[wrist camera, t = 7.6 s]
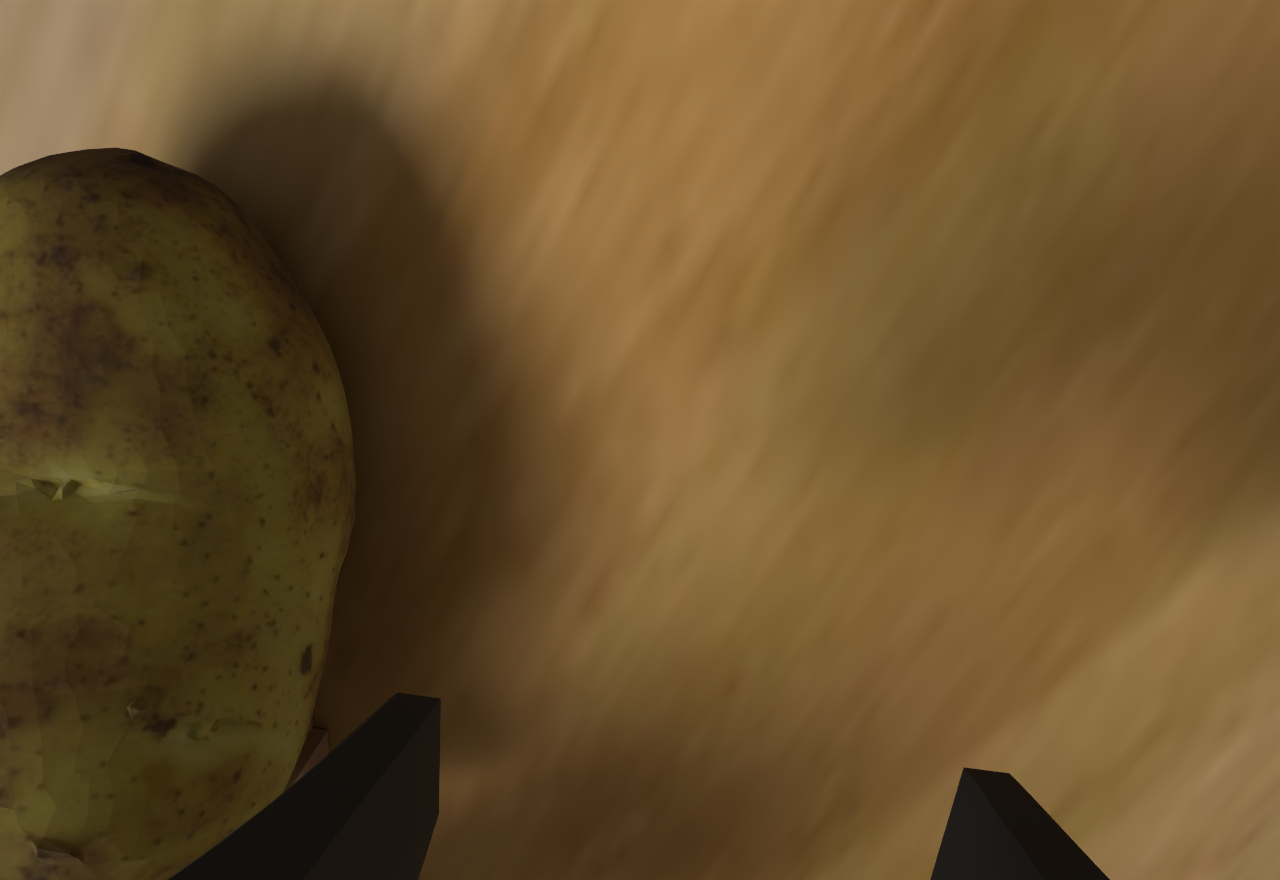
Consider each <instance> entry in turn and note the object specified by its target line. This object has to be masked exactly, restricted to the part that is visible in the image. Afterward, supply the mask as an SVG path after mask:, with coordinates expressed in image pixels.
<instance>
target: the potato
mask: <svg viewBox="0 0 1280 880" xmlns="http://www.w3.org/2000/svg"><path fill="white" fill-rule="evenodd" d="M355 510H356V476H355V461H354V450H353V439H352V428H351V421H350V416H349V410H348V405H347V400H346V396H345V391H344V388H343V384H342V380H341V376H340V373H339V370H338V367H337V364H336V361H335V359H334V356H333V353H332V351H331V348H330V346H329V343H328V341H327V339H326V337H325V335H324V333H323V331H322V329H321V327H320V325H319V323H318V321H317V319H316V317H315V315H314V313H313V312H312V310H311V308H310V306H309V304H308V302H307V301H306V299H305V297H304V295H303V293H302V292H301V291H300V289H299V288H298V286H297V285H296V283H295V282H294V281H293V279H292V278H291V276H290V275H289V273H288V272H287V271H286V269H285V268H284V266H283V265H282V263H281V262H280V260H279V258H278V257H277V255H276V254H275V252H274V251H273V249H272V248H271V246H270V245H269V243H268V242H267V240H266V239H265V237H264V236H263V235H262V234H261V232H260V231H259V230H258V229H257V227H256V226H255V225H254V224H253V223H252V221H251V220H250V219H249V218H248V216H247V215H246V214H245V213H244V211H243V210H242V209H241V208H240V207H239V206H238V205H237V204H236V203H235V202H234V201H232V200H231V199H230V198H229V197H228V196H227V195H226V194H224V193H223V192H222V191H221V190H220V189H219V188H217V187H216V186H215V185H214V184H212V183H210V182H208V181H206V180H205V179H203V178H201V177H199V176H197V175H195V174H192V173H190V172H187V171H185V170H182V169H180V168H177V167H174V166H172V165H169V164H167V163H164V162H161V161H159V160H156V159H154V158H152V157H149V156H147V155H144V154H142V153H140V152H137V151H134V150H128V149H121V148H103V149H87V150H80V151H73V152H67V153H61V154H55V155H50V156H47V157H44V158H41V159H38V160H35V161H32V162H30V163H27V164H24V165H21V166H18V167H16V168H14V169H11V170H10V171H8V172H6V173H4V174H2V175H1V176H0V880H168V879H169V878H171V877H172V876H174V875H175V874H177V873H178V872H179V871H181V870H182V869H184V868H185V867H187V866H188V865H189V864H191V863H192V862H194V861H195V860H196V859H198V858H199V857H201V856H202V855H203V854H205V853H206V852H207V851H209V850H210V849H212V848H213V847H214V846H216V845H217V844H218V843H220V842H221V841H222V840H223V839H225V838H226V837H227V836H229V835H230V834H231V833H233V832H234V831H235V830H236V829H238V828H239V827H240V826H242V825H243V824H244V823H245V822H247V821H248V820H249V819H251V818H252V817H253V816H254V815H256V814H257V813H258V812H260V811H261V810H262V809H264V808H265V807H266V806H267V805H269V804H270V803H271V802H272V801H274V800H275V799H276V798H277V797H278V796H280V795H281V794H282V793H283V791H284V789H285V787H286V785H287V783H288V781H289V779H290V776H291V774H292V772H293V770H294V767H295V765H296V762H297V760H298V757H299V755H300V752H301V750H302V747H303V745H304V742H305V740H306V736H307V733H308V732H310V731H311V730H312V724H313V716H314V710H315V706H316V702H317V695H318V692H319V688H320V684H321V680H322V676H323V672H324V667H325V663H326V658H327V653H328V648H329V641H330V634H331V626H332V617H333V607H334V599H335V592H336V586H337V581H338V576H339V572H340V569H341V566H342V564H343V561H344V559H345V556H346V554H347V550H348V546H349V542H350V538H351V534H352V529H353V525H354V520H355Z"/></svg>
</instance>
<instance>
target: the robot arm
mask: <svg viewBox="0 0 1280 880" xmlns="http://www.w3.org/2000/svg"><path fill="white" fill-rule="evenodd" d="M440 705H441V699H440V698H432V697H425V696H417V695H409V694H402V693H397V694H396V695H394V696H393V697H391V698H390V699H389V700H388V701H387V702H386V703H384V704H383V705H382V706H381V707H380V708H379V709H378V710H377V711H376V712H375V713H373V714H372V715H371V716H370V717H369V718H368V719H367V720H366V721H365V722H364V723H362V724H361V725H360V726H359V727H358V728H357V729H356V730H355V731H354V732H353V733H351V734H350V735H349V736H348V737H347V738H346V739H345V740H344V741H343V742H341V743H340V744H339V745H338V746H337V747H336V748H335V749H334V750H332V751H331V752H330V753H329V754H328V755H327V756H326V757H325V758H323V759H322V760H321V761H320V762H319V763H318V764H316V765H315V766H314V767H313V768H312V769H310V770H309V771H308V772H307V773H306V774H305V775H303V776H302V777H301V778H300V779H299V780H297V781H296V782H295V783H294V784H293V785H292V786H290V787H289V788H288V789H287V790H286V791H284V792H283V793H282V794H281V795H280V796H278V797H277V798H276V799H275V800H274V801H272V802H271V803H270V804H269V805H267V806H266V807H265V808H264V809H262V810H261V811H260V812H258V813H257V814H256V815H254V816H253V817H252V818H251V819H249V820H248V821H247V822H245V823H244V824H243V825H242V826H240V827H239V828H238V829H236V830H235V831H234V832H233V833H231V834H230V835H229V836H227V837H226V838H225V839H223V840H222V841H221V842H220V843H218V844H217V845H216V846H214V847H213V848H212V849H210V850H209V851H207V852H206V853H205V854H203V855H202V856H201V857H199V858H198V859H196V860H195V861H194V862H192V863H191V864H189V865H188V866H187V867H185V868H184V869H182V870H181V871H179V872H178V873H177V874H175V875H174V876H172V877H171V878H169V879H168V880H418V878H419V875H420V872H421V868H422V865H423V862H424V859H425V856H426V853H427V850H428V847H429V843H430V840H431V837H432V834H433V830H434V827H435V824H436V821H437V817H438V814H439V764H440ZM931 880H1110V879H1109V878H1108V877H1107V876H1106V875H1105V874H1104V873H1103V872H1102V871H1101V870H1100V869H1099V868H1098V867H1097V866H1096V865H1095V864H1094V863H1093V861H1092V860H1091V859H1090V858H1089V857H1088V856H1087V855H1086V854H1085V853H1084V852H1083V851H1082V850H1081V849H1080V848H1079V846H1078V845H1077V844H1076V843H1075V842H1074V841H1073V840H1072V839H1071V838H1070V837H1069V836H1068V835H1067V834H1066V833H1065V832H1064V830H1063V829H1062V828H1061V827H1060V826H1059V825H1058V824H1057V823H1056V822H1055V821H1054V820H1053V819H1052V818H1051V816H1050V815H1049V814H1048V813H1047V812H1046V811H1045V810H1044V809H1043V808H1042V807H1041V806H1040V805H1039V804H1038V803H1037V801H1036V800H1035V799H1034V798H1033V797H1032V796H1031V795H1030V794H1029V793H1028V792H1027V791H1026V790H1025V789H1024V788H1023V787H1022V786H1021V785H1020V784H1019V783H1018V782H1017V781H1016V780H1015V779H1014V778H1013V777H1012V776H1011V775H1010V774H1009V773H1002V772H994V771H987V770H979V769H971V768H964V769H963V772H962V775H961V779H960V782H959V785H958V789H957V792H956V795H955V799H954V802H953V806H952V809H951V812H950V816H949V819H948V822H947V826H946V829H945V833H944V836H943V839H942V843H941V846H940V849H939V853H938V856H937V860H936V863H935V866H934V870H933V873H932V876H931Z"/></svg>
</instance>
